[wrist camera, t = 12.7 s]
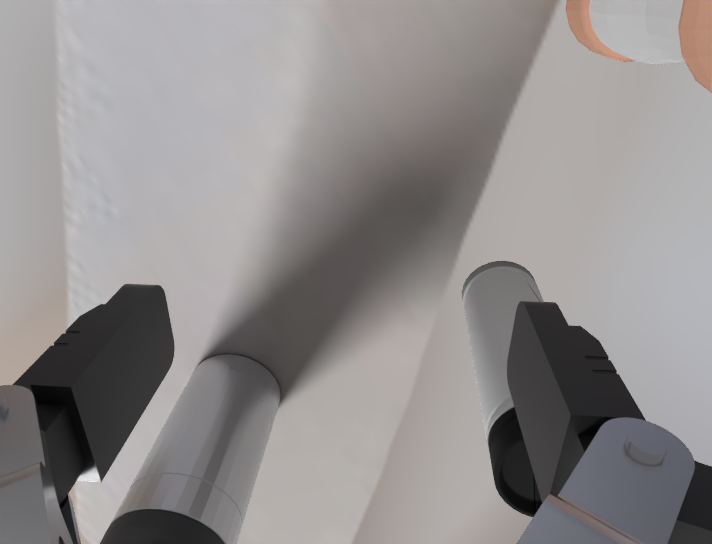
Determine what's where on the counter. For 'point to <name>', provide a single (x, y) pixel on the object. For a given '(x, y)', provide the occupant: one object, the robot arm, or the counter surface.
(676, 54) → the salt shaker
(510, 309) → the travel mug
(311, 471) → the counter surface
